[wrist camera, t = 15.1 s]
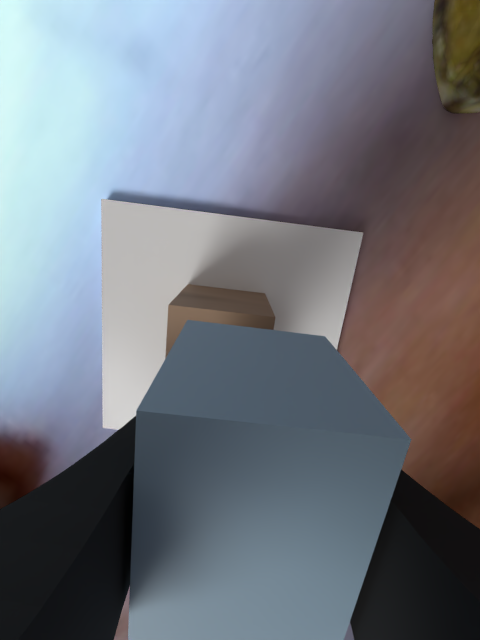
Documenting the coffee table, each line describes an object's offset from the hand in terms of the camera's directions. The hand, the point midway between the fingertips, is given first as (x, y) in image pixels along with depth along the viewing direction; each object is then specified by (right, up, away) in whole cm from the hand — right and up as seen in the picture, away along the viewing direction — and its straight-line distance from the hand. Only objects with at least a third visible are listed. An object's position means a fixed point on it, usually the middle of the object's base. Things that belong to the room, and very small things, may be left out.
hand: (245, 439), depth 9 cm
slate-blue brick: (0, 0, +1) cm, 1 cm away
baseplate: (-1, +3, +10) cm, 10 cm away
